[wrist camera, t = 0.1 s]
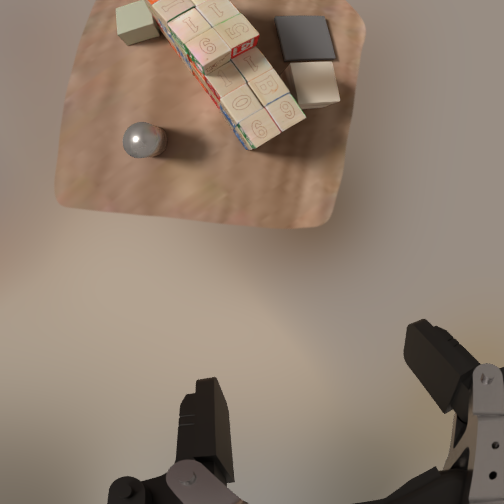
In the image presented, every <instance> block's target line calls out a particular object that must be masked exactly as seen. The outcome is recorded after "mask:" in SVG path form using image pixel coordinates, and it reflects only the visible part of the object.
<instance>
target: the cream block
mask: <svg viewBox="0 0 504 504" xmlns="http://www.w3.org/2000/svg"><path fill="white" fill-rule="evenodd" d="M280 78H281V80H282V81H283V82H284V84H285V85H286V87H287V88H288V89H289V91H290V94H291V95H292V96H293V98H294V99H295V100H296V102H297V104H298V105H299V107H300V108H301V109H311V108H323V107H326V106H328V105H331V104H334V103H337V102H339V101H340V97H339V92H338V87H337V82H336V77H335V73H334V68H333V64H332V62H301V63H290V64H289V65H288V66H287V68H286V69H285V70H284V71H283V72H282V74H281V75H280Z"/></svg>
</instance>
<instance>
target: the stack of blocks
mask: <svg viewBox="0 0 504 504" xmlns="http://www.w3.org/2000/svg"><path fill="white" fill-rule="evenodd" d="M144 1H145V3H146V6H147V7H148V9H149V11H150V13H151V14H152V15H153V17H154V19H155V21H156V24H157V26H158V27H159V29H160V31H161V32H162V33H163V35H164V36H165V37H166V39H167V40H168V41H169V43H170V45H171V46H172V47H173V49H174V50H175V51H176V53H177V54H178V55H179V57H180V58H181V59H182V61H183V62H184V64H185V65H186V66H187V68H188V69H189V71H190V72H191V73H192V75H193V76H195V77H196V79H197V80H198V81H199V83H200V84H201V85H202V87H203V88H204V90H205V91H206V92H207V93H208V94H209V96H210V97H211V99H212V100H213V101H214V103H215V104H216V106H217V107H218V108H219V110H220V113H221V115H222V116H223V118H224V119H225V120H226V122H227V123H228V125H229V126H230V128H231V129H232V130H233V131H234V133H235V134H236V136H237V137H238V139H239V140H240V142H241V143H242V145H243V146H244V148H245V149H246V150H252V149H255V148H257V147H259V146H260V145H262V144H264V143H265V142H267V141H268V140H270V139H272V138H273V137H275V136H277V135H278V134H280V133H281V132H283V131H284V130H286V129H288V128H289V127H291V126H293V125H295V124H296V123H298V122H300V121H301V120H303V119H305V118H306V116H305V114H304V113H303V111H302V110H301V108H300V107H299V105H298V104H297V102H296V100H295V99H294V98H293V96H292V95H291V94H290V91H289V89H288V88H287V87H286V85H285V84H284V82H283V81H282V80H281V78H280V77H279V75H278V74H277V73H276V71H275V70H274V69H273V67H272V65H271V64H270V63H269V61H268V60H267V59H266V57H265V56H264V55H263V54H262V52H261V51H260V50H259V49H258V48H257V47H256V45H257V42H258V39H259V36H260V34H259V33H258V32H257V30H256V29H255V28H254V27H253V26H252V25H251V23H250V22H249V21H248V20H247V19H246V18H245V16H244V15H243V14H241V13H240V12H239V11H238V9H237V8H236V7H235V6H234V5H233V4H232V3H231V2H230V1H229V0H144Z"/></svg>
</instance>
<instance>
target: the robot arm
mask: <svg viewBox="0 0 504 504" xmlns="http://www.w3.org/2000/svg"><path fill="white" fill-rule="evenodd" d="M404 359H405V361H406V363H407V365H408V366H409V368H410V369H411V370H412V371H413V373H414V374H415V375H416V377H417V378H418V379H419V380H420V382H421V383H422V385H423V386H424V387H425V388H426V390H427V391H428V392H429V394H430V395H431V397H432V398H433V399H434V401H435V402H436V403H437V405H438V406H439V408H440V409H441V410H442V412H443V413H444V414H445V413H447V412H449V411H451V410H452V409H453V410H454V411H455V414H454V419H453V429H452V437H451V444H450V450H449V454H448V457H447V460H446V462H445V465H444V468H443V470H442V471H438V470H437V468H436V467H433V468H432V469H430V470H428V471H426V472H424V473H423V474H421V475H419V476H417V477H415V478H413V479H411V480H410V481H408V482H407V483H406V484H404V485H403V486H402V487H400V488H399V489H398V490H396V491H395V492H393V493H392V494H391V495H389V496H388V497H387V498H384V499H380V500H375V501H368V502H362V503H355V504H504V367H503V368H498V367H497V366H495V365H493V364H488V363H486V364H480V363H479V362H478V361H477V360H476V359H475V358H474V357H473V356H472V355H471V354H470V353H469V352H468V351H467V350H466V349H465V348H464V347H463V346H462V345H460V344H459V342H458V341H457V340H456V339H454V338H453V336H451V335H450V334H449V333H448V332H447V331H446V330H444V329H442V328H440V327H438V326H435V327H433V326H432V325H431V324H430V323H429V322H428V321H427V320H425V319H421V320H419V321H417V322H414V323H411V324H409V325H408V327H407V332H406V339H405V346H404ZM179 416H180V418H179V427H178V439H177V451H176V461H175V463H174V465H172V466H171V467H170V469H169V470H168V472H167V473H165V474H164V475H162V476H159V477H156V478H152V479H149V480H145V481H139V480H138V479H136V478H134V477H129V476H126V477H121V478H118V479H117V480H115V481H114V482H113V483H112V485H111V486H110V488H109V494H108V503H107V504H248V503H247V502H245V501H243V500H241V499H240V498H239V497H238V496H236V494H234V493H233V492H232V491H231V490H230V489H229V488H227V483H231V482H235V481H234V470H233V459H232V447H231V435H230V422H229V411H228V407H227V403H226V400H225V398H224V395H223V393H222V390H221V388H220V385H219V383H218V380H217V378H216V377H212V378H206V379H200V380H197V381H196V393H193V394H187V395H186V396H185V398H184V399H183V401H182V403H181V405H180V414H179Z"/></svg>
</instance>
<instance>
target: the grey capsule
mask: <svg viewBox="0 0 504 504" xmlns="http://www.w3.org/2000/svg"><path fill="white" fill-rule="evenodd" d="M123 146H124V149H125V151H126V152H127V153H128V154H129V155H130V156H132V157H134V158H145V157H155V156H158V155H160V154H161V153H162V152H163V151H164V150H165V148H166V146H167V135H166V133H165V132H164V130H162V129H161V128H159V127H157V126H154V125H151V124H149V123H146V122H138V123H135V124H133V125H131V126H130V127H129V128H128V129H127V130H126V132H125V134H124V137H123Z"/></svg>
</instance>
